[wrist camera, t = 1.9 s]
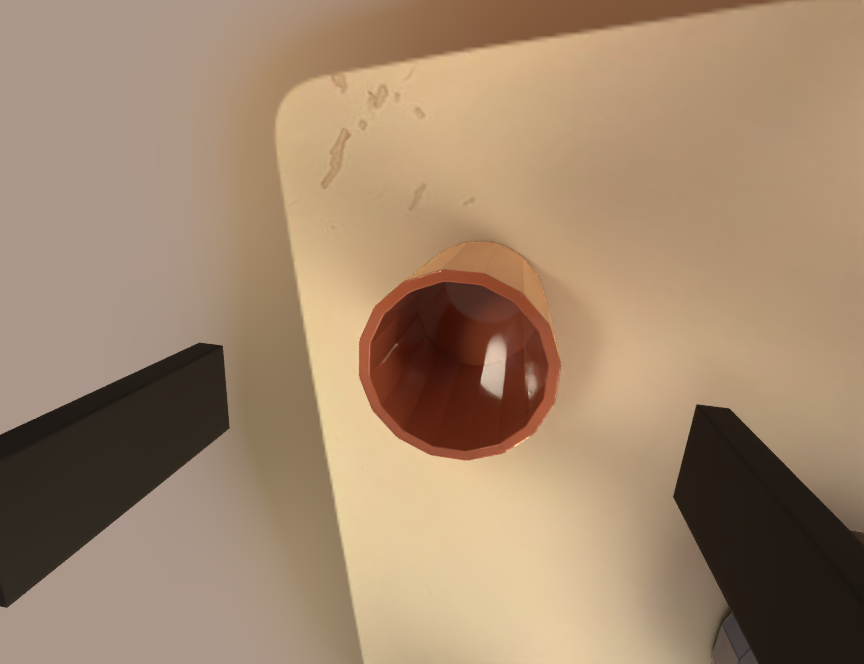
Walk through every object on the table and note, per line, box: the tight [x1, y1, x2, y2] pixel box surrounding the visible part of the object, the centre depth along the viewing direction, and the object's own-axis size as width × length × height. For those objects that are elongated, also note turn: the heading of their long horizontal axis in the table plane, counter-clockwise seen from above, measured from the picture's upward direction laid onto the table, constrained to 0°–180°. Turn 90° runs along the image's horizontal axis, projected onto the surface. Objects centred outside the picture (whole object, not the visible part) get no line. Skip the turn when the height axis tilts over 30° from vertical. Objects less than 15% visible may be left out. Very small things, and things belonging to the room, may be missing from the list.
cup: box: [359, 241, 561, 460], centre depth 20 cm, size 7×7×9 cm
